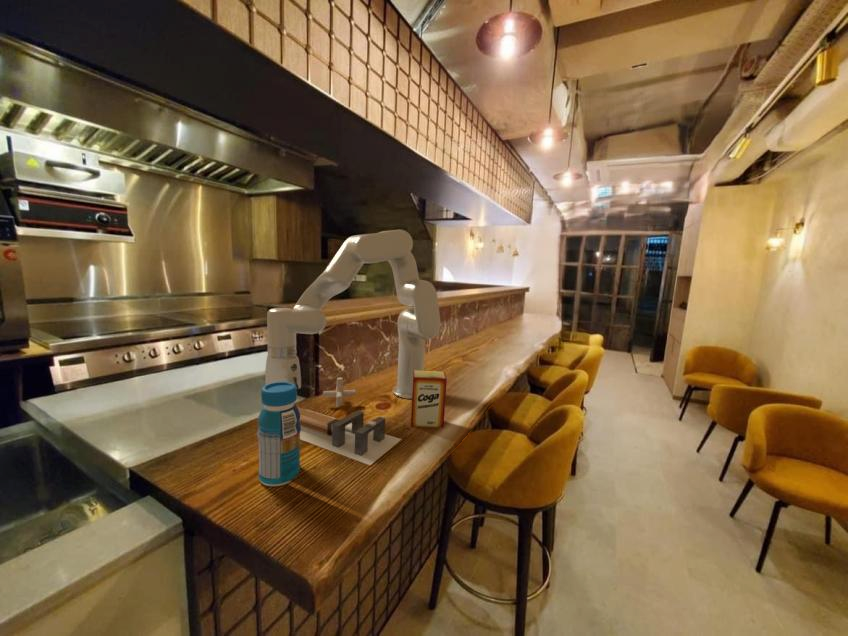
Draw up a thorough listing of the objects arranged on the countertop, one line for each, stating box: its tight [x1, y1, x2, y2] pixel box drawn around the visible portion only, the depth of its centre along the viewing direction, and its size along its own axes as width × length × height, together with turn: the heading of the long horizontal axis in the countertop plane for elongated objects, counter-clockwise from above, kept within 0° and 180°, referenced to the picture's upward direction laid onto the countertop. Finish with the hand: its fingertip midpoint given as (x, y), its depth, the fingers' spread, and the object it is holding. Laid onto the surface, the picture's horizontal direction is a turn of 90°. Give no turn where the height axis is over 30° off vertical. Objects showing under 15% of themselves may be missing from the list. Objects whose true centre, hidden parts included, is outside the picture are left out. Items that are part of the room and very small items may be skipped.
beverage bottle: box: [256, 382, 301, 487], centre depth 71 cm, size 8×8×20 cm
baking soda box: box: [410, 370, 448, 429], centre depth 98 cm, size 10×6×16 cm
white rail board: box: [300, 408, 402, 466], centre depth 90 cm, size 14×34×2 cm, turn 63°
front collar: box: [355, 416, 386, 456], centre depth 84 cm, size 10×2×6 cm, turn 153°
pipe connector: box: [322, 377, 357, 407], centre depth 107 cm, size 10×10×10 cm
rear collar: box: [332, 409, 365, 448], centre depth 87 cm, size 10×2×6 cm, turn 153°
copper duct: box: [297, 406, 340, 436], centre depth 92 cm, size 18×3×3 cm, turn 63°
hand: (282, 412), depth 98 cm, fingers closed
